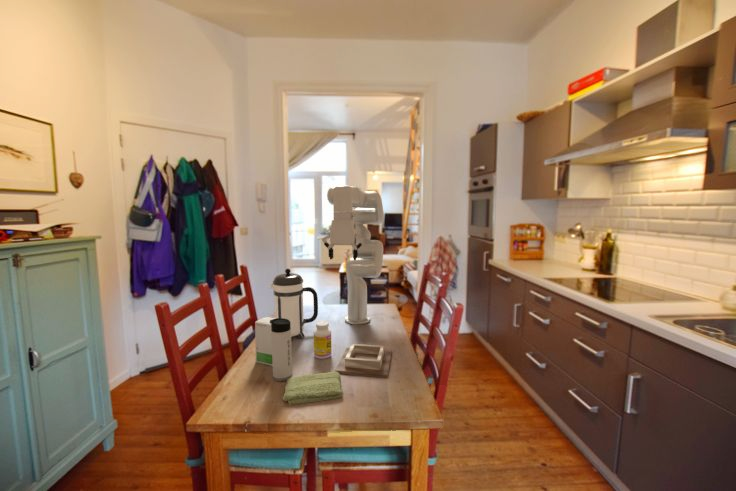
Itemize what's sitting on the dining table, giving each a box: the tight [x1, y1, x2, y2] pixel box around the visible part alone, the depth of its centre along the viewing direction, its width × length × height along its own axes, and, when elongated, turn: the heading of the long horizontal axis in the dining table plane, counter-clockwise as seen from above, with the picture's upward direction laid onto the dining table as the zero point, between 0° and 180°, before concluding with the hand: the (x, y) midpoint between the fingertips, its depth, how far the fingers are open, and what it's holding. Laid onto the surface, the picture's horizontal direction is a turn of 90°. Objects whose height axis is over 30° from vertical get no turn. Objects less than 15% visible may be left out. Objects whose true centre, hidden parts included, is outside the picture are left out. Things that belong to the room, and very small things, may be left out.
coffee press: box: [269, 268, 319, 339], centre depth 142 cm, size 17×16×30 cm
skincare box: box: [254, 316, 276, 367], centre depth 119 cm, size 8×7×16 cm
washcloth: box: [282, 370, 344, 406], centre depth 101 cm, size 13×18×3 cm
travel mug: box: [270, 318, 293, 382], centre depth 108 cm, size 6×7×20 cm
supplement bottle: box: [313, 320, 332, 360], centre depth 124 cm, size 7×7×13 cm
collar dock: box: [334, 343, 393, 378], centre depth 119 cm, size 18×18×4 cm
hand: (343, 259), depth 132 cm, fingers open, 9 cm apart
